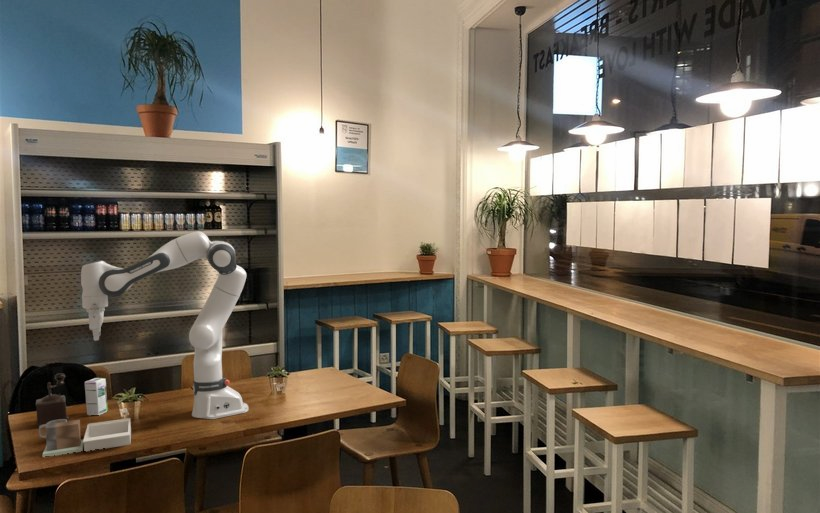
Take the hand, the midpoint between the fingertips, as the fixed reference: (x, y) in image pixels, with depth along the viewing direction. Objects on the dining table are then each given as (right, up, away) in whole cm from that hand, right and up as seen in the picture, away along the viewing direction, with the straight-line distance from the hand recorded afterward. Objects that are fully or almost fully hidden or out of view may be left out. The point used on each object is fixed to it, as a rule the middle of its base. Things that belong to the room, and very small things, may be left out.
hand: (97, 338), depth 239 cm
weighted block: (-1, -35, -22) cm, 41 cm away
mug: (-11, -36, -11) cm, 39 cm away
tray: (+11, -36, -14) cm, 40 cm away
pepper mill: (-24, -35, +12) cm, 44 cm away
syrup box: (-10, -35, +20) cm, 41 cm away
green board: (-1, -36, -22) cm, 42 cm away
